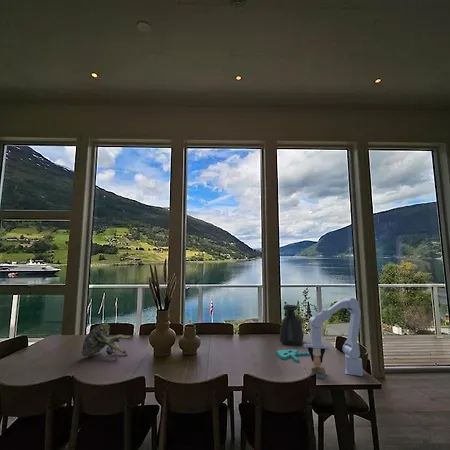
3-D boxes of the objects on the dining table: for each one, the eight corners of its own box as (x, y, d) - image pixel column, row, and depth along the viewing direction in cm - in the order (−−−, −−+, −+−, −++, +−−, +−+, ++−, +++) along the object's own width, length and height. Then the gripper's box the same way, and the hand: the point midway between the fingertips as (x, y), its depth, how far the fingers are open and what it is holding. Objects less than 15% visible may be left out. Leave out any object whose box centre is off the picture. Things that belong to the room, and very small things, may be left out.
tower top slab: (324, 370, 173) (324, 366, 173) (323, 374, 167) (322, 369, 167) (313, 369, 176) (313, 364, 176) (311, 372, 170) (311, 368, 170)
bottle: (279, 344, 238) (277, 306, 242) (283, 339, 253) (282, 304, 257) (301, 346, 231) (299, 307, 235) (304, 341, 246) (302, 305, 250)
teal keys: (309, 355, 208) (284, 350, 221) (309, 352, 209) (284, 347, 221) (297, 363, 193) (271, 357, 206) (297, 359, 193) (271, 354, 206)
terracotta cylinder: (321, 363, 173) (321, 354, 174) (320, 365, 169) (320, 356, 170) (313, 362, 175) (313, 353, 175) (313, 364, 171) (312, 355, 171)
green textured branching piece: (73, 350, 193) (124, 347, 192) (87, 318, 214) (134, 315, 213) (85, 369, 206) (134, 366, 205) (97, 337, 227) (142, 334, 226)
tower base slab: (325, 374, 173) (325, 370, 173) (324, 379, 166) (324, 374, 166) (311, 372, 176) (311, 368, 176) (310, 377, 169) (309, 373, 169)
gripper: (329, 337, 175) (330, 360, 173) (304, 335, 180) (305, 358, 178) (328, 339, 168) (329, 364, 166) (302, 337, 174) (303, 361, 172)
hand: (317, 361), depth 172 cm, fingers closed on terracotta cylinder, 4 cm apart
